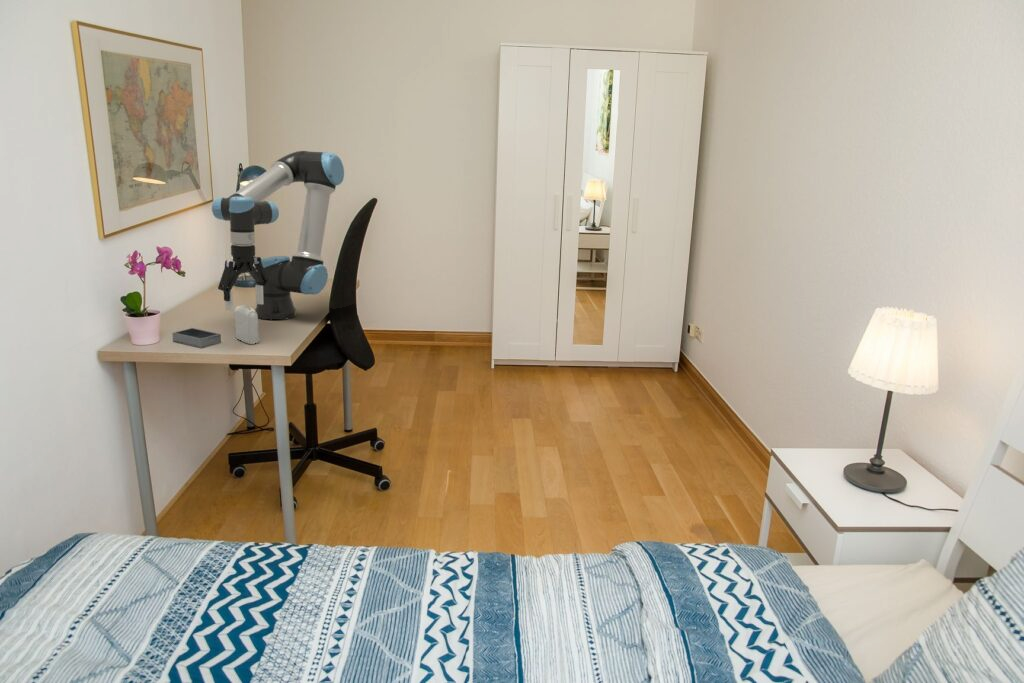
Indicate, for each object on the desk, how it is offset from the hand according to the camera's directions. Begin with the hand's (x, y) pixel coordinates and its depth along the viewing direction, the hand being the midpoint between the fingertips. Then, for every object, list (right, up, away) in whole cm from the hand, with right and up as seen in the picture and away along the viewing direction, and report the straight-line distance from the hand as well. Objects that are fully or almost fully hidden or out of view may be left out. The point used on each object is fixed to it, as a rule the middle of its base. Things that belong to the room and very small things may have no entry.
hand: (245, 307), depth 248 cm
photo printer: (-1, -12, +4) cm, 12 cm away
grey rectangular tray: (-16, -12, -1) cm, 20 cm away
